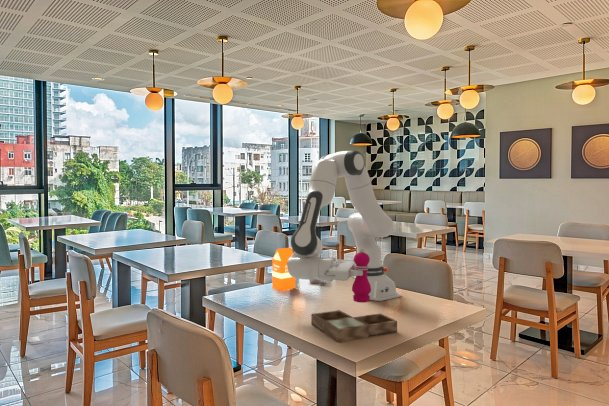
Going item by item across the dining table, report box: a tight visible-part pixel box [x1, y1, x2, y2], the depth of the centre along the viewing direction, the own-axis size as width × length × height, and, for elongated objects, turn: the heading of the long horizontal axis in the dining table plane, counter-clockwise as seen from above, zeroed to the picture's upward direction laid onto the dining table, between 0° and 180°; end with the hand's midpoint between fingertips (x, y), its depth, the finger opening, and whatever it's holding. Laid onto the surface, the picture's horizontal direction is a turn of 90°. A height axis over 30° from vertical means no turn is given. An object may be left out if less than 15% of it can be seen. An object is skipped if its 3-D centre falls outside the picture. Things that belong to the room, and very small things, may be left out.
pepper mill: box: [351, 249, 371, 304], centre depth 168 cm, size 7×7×20 cm
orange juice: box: [271, 247, 296, 292], centre depth 218 cm, size 8×9×20 cm
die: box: [309, 279, 322, 284], centre depth 232 cm, size 8×9×10 cm
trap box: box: [310, 309, 398, 343], centre depth 160 cm, size 24×20×4 cm
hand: (363, 271), depth 168 cm, fingers closed on pepper mill, 5 cm apart
